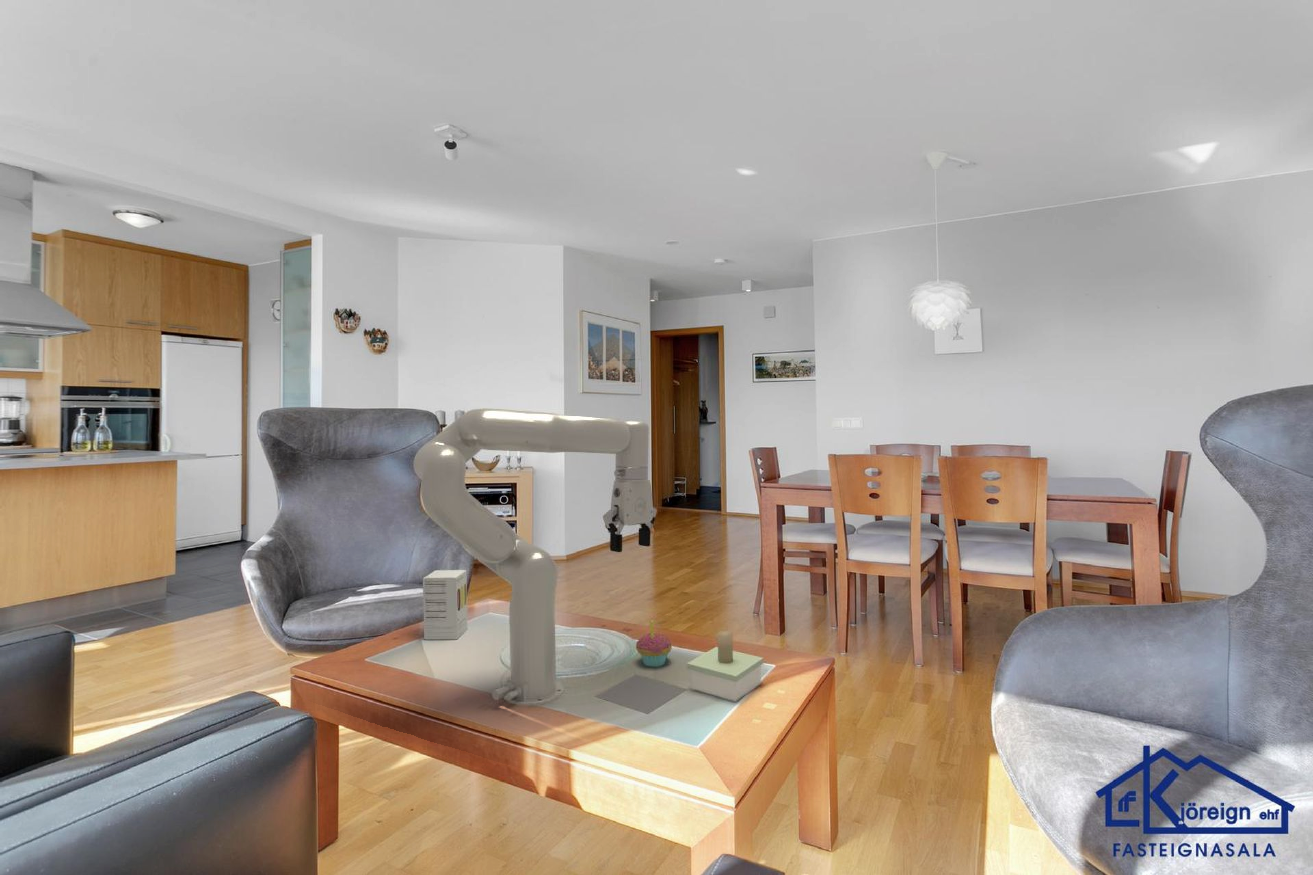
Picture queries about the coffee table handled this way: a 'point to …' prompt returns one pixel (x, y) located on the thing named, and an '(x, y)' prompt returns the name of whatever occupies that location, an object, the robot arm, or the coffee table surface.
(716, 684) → the white square box
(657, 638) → the cupcake
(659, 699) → the mat
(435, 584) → the supplement box
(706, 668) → the lid
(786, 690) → the coffee table surface
